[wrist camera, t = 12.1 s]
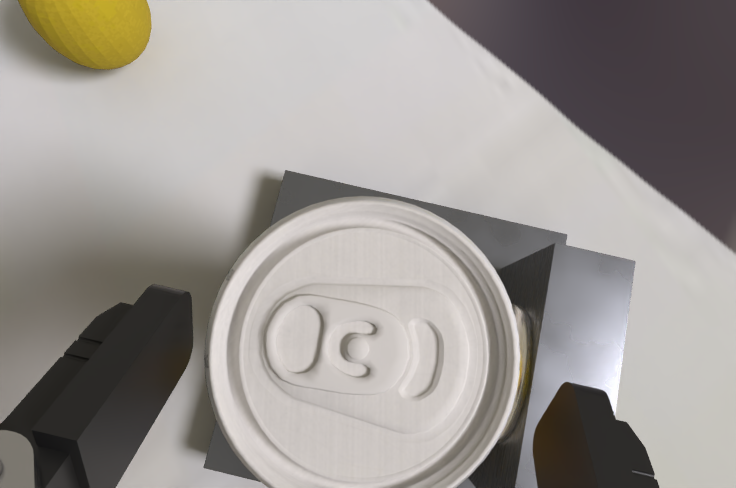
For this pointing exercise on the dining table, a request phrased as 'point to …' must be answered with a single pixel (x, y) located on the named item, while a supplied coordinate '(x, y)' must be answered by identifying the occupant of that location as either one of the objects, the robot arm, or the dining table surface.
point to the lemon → (92, 29)
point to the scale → (533, 317)
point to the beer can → (362, 350)
